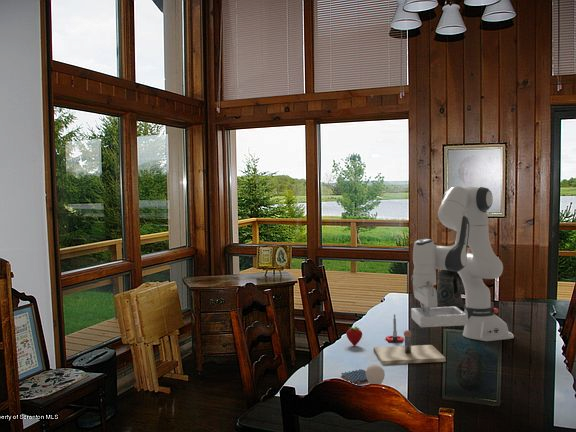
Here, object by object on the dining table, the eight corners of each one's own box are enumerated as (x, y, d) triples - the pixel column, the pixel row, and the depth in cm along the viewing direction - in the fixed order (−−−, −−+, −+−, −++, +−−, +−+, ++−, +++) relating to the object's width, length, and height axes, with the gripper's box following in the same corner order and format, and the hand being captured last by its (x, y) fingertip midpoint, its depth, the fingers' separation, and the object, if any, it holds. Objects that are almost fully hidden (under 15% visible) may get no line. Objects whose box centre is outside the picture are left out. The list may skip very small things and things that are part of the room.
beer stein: (439, 304, 310) (438, 263, 308) (472, 308, 298) (471, 265, 297) (429, 310, 296) (428, 267, 295) (463, 314, 285) (462, 269, 284)
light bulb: (364, 393, 180) (363, 362, 180) (382, 391, 181) (381, 361, 180) (368, 400, 174) (367, 368, 173) (387, 399, 174) (386, 367, 174)
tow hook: (385, 337, 247) (385, 342, 238) (384, 311, 247) (385, 314, 238) (403, 338, 246) (404, 342, 237) (402, 311, 246) (403, 315, 237)
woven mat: (354, 387, 187) (354, 381, 187) (339, 377, 197) (339, 372, 197) (378, 382, 192) (378, 376, 191) (363, 373, 201) (363, 368, 201)
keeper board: (431, 348, 227) (431, 323, 227) (445, 361, 209) (445, 334, 209) (373, 350, 227) (372, 325, 226) (382, 364, 209) (381, 337, 208)
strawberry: (348, 342, 240) (348, 321, 239) (364, 344, 236) (363, 322, 236) (344, 346, 234) (343, 324, 234) (360, 348, 231) (359, 326, 231)
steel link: (455, 316, 207) (455, 306, 207) (467, 325, 194) (467, 314, 194) (411, 318, 207) (411, 308, 206) (420, 327, 194) (420, 316, 193)
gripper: (441, 284, 195) (442, 320, 196) (425, 275, 215) (425, 307, 216) (424, 285, 195) (425, 321, 195) (410, 276, 215) (411, 308, 216)
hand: (425, 314), depth 206 cm, fingers closed on steel link, 2 cm apart
